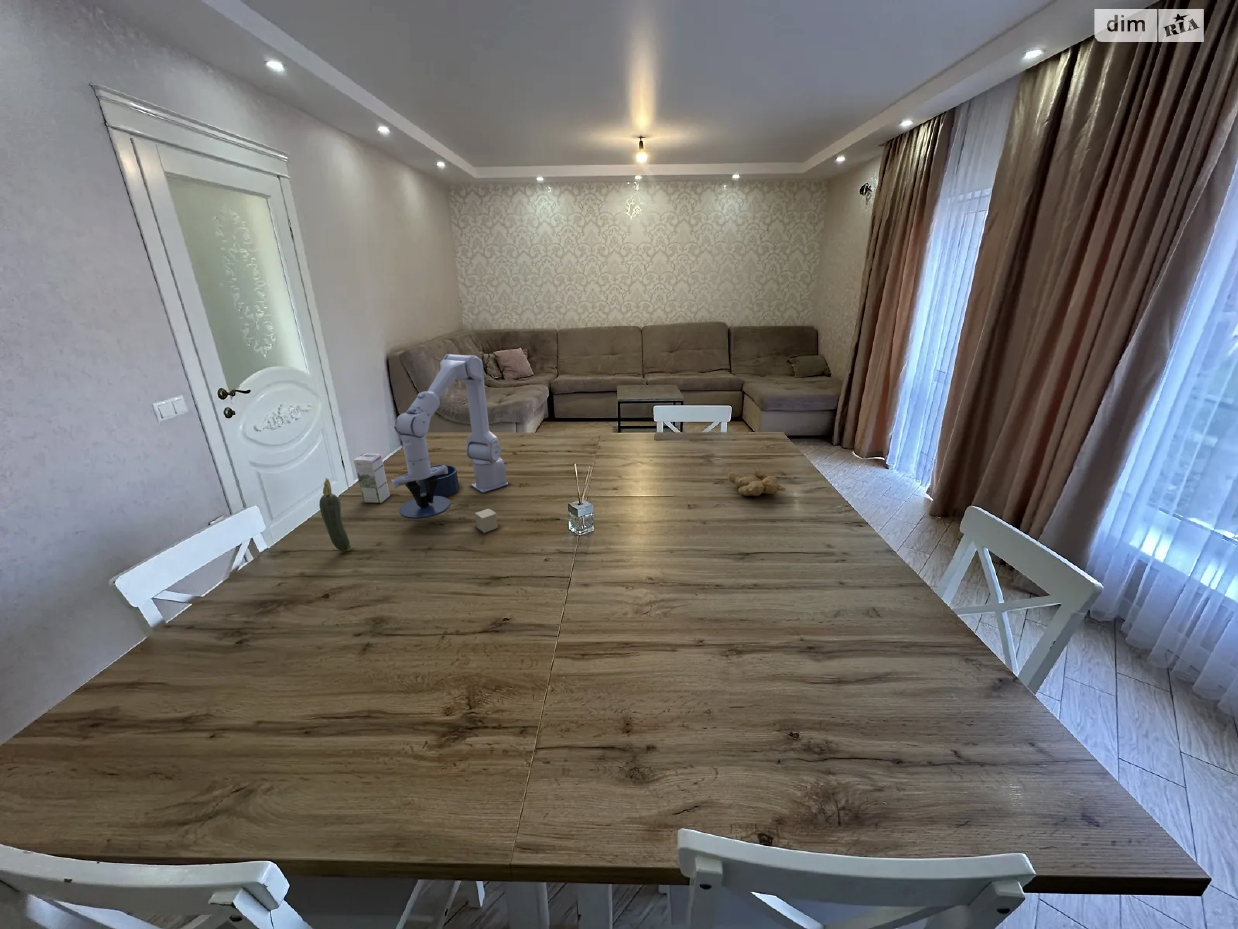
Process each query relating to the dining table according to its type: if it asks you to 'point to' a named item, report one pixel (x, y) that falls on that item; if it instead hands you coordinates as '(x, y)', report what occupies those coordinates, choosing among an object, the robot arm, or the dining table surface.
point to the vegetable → (333, 518)
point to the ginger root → (755, 483)
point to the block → (486, 520)
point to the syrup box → (372, 478)
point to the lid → (424, 507)
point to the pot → (444, 483)
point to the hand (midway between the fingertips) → (425, 503)
